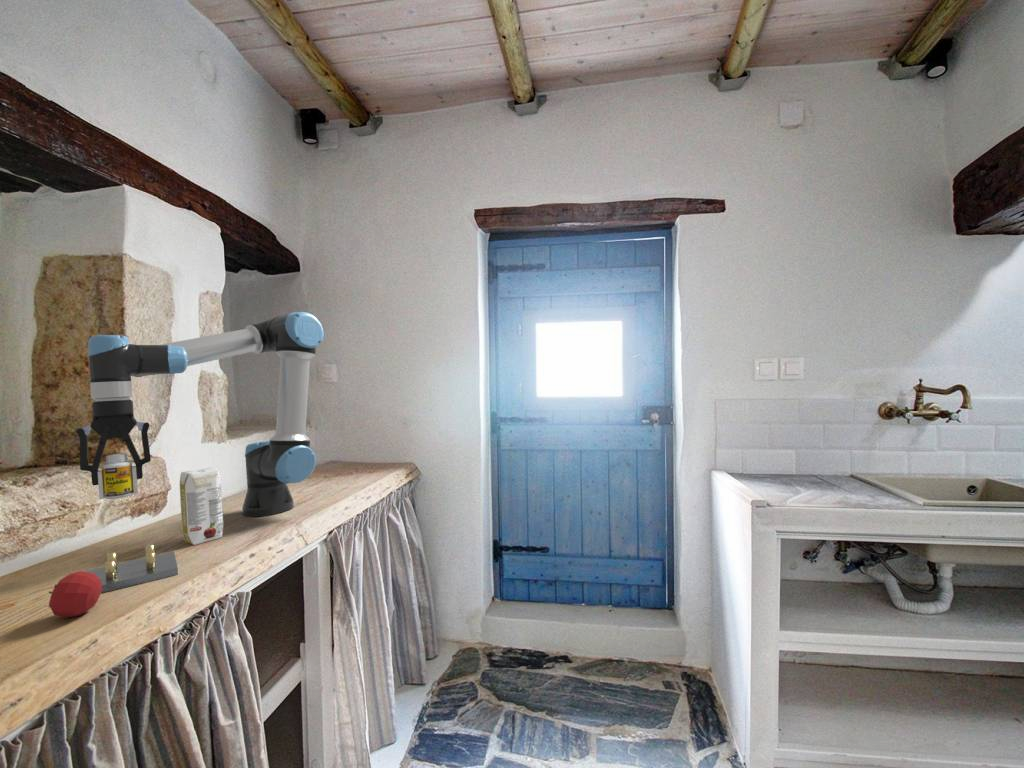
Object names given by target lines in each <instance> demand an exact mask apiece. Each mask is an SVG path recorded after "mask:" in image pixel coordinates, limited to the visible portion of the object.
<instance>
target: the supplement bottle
mask: <svg viewBox="0 0 1024 768" xmlns="http://www.w3.org/2000/svg"><path fill="white" fill-rule="evenodd" d="M132 466H133V462H132V461H130V460H129V461H128V453H116V454H114V453H113V454H108V455H106V456H105V463H104V464H102V466H101V470H102V476H103V490H104V500H105V499H106V500H115V499H116V500H117V499H122V498H128V497H130V496H132V495H134V489H133V475H132Z"/></svg>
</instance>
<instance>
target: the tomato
mask: <svg viewBox="0 0 1024 768" xmlns="http://www.w3.org/2000/svg"><path fill="white" fill-rule="evenodd" d="M101 590H102V582H101V580H100V579H99V577H98V576H97V575H96V574H94V573H89V572H86V571H83V570H79V571H75V572H71V573H69V574H67V575H66V576H64V577H63V578H62V579H60V580H59V581H58V582H57V584H54V588H53V590H52V591H48V594H51V595H50V598H49V602H48V607H49V609H51V612H52V613H53V615H54V616H57V617H61V618H64V619H65V618H67V619H69V618H73V617H80V616H81V615H83V614H85V613H86V612H88V611H89V610H91V609H92V608H94V607H95V605H97V602H98V601H99V598H100V597H101V594H102V593H101Z"/></svg>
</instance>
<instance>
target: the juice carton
mask: <svg viewBox="0 0 1024 768" xmlns="http://www.w3.org/2000/svg"><path fill="white" fill-rule="evenodd" d="M222 495H223V494H222V478H221V475H220V470H219V469H218V468H215V467H207V468H206V467H205V468H201V469H197V470H189V471H181V472H180V476H179V496H180V497H179V498H180V499H179V500H180V501H179V502H180V516H181V517H180V519H181V531H182V536H183V539H184V541H185V543H188V544H191V545H193V546H195V545H199V544H204V543H207V542H210V541H214V540H217V539H221V538H223V531H224V513H223V512H224V511H223V510H224V509H223V496H222Z"/></svg>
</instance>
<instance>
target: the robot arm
mask: <svg viewBox="0 0 1024 768" xmlns="http://www.w3.org/2000/svg"><path fill="white" fill-rule="evenodd" d="M324 332H325V331H324V329H323V326H322V322H320V321H319V319H318V318H317V317H316V316H315V315H313V314H311V313H310V312H307V311H298V312H297V311H295V312H291V313H288V314H285V315H280V316H274V317H272V318H270V319H266V320H264V321H260V322H258V323H253V324H248V325H246V326H245V327H244V329H239V330H233V331H227V332H222V333H217V334H210V335H205V336H201V337H194V338H189V339H185V340H180V341H179V340H178V341H174V342H167V343H163V344H133V343H130V341H129V338H128V337H127V336H126V335H117V334H98V335H93V336H91V337H89V339H88V343H87V344H88V345H87V357H88V367H89V378H90V383H89V384H90V397H91V399H92V400H94V401H93V402H91V411H92V421H91V423H90V425H86V426H84V427H78V428H77V429H76V431H75V432H76V434H77V436H78V437H79V468H80V470H81V471H85V472H86V471H87V472H90V475H91V485H93V486H98V497H99V500H105V498H104V490H103V476H102V469H100V470H99V467H100V465H101V460H102V458H103V455H104V451H105V448H106V444H107V441H108V440H111V439H115V438H116V439H123V441H124V444H125V445H126V447H127V449H128V452H129V454H130V455H131V458H132V460H133V463H134V464H135V465H132V475H133V489H134V493H133V495H137V494H138V492H139V489H138V480H141V479H143V477H144V476H143V475H144V474H143V466H144V465H145V464H147V463H150V462H151V461H152V460H151V459H152V458H151V452H150V451H151V450H150V449H151V448H150V444H149V434H148V432H149V428H150V423H149V422H147V421H146V422H142V421H137V419H136V418H135V417H134V416H135V415H134V401H133V400H132V399H131V398H132V397H133V388H132V377H135V378H141V377H147V376H156V375H173V374H183V373H184V372H185V371H186V370H187V368H188V367H190V366H195V365H199V364H204V363H208V362H212V361H217V360H222V359H227V358H230V357H236V356H239V355H244V354H249V353H253V354H255V355H256V354H257V355H259V354H263V353H268V352H269V353H270V352H275V354H276V355H277V356H278V357H279V359H280V365H279V379H278V380H279V381H278V392H277V393H278V396H277V410H276V411H277V412H276V424H275V425H276V426H275V434H274V435H273V436H272V437H271V438H269V440H264V441H257V442H252V443H248V444H247V445H246V446H245V453H244V457H245V469H246V484H247V487H246V489H247V490H246V494H245V497H244V501H243V503H242V509H241V511H242V515H243V516H245V517H263V516H271V515H276V514H281V513H284V512H286V511H289V510H291V509H293V508H294V507H295V505H294V498H293V495H292V493H291V491H290V488H289V486H288V484H297V483H301V482H303V481H305V480H306V479H308V477H310V476H311V475H312V473H313V472H314V471H315V468H316V465H317V457H316V454H315V452H314V451H313V449H312V448H310V447H311V439H310V437H308V436H307V434H306V431H307V430H306V429H307V416H308V415H307V414H308V397H309V383H310V367H311V366H310V364H311V360H313V359H314V358H315V357H316V350H317V349H316V348H317V347H318V346H319V345H320V343H322V341H323V339H324V335H325V334H324ZM135 427H137V429H138V431H140V433H141V441H142V450H143V451H142V452H143V458H141V457H140V455H139V454H138V450H137V449H136V447H135V445H134V443H133V441H132V438H131V436H130V433H131V431H132V430H134V428H135ZM91 430H93V432H95V433H96V434H98V436H100V438H99V440H98V445H97V448H96V451H95V455H94V458H93V461H92V464H89V444H88V443H89V438H88V436H89V435H90V434H91Z"/></svg>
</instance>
